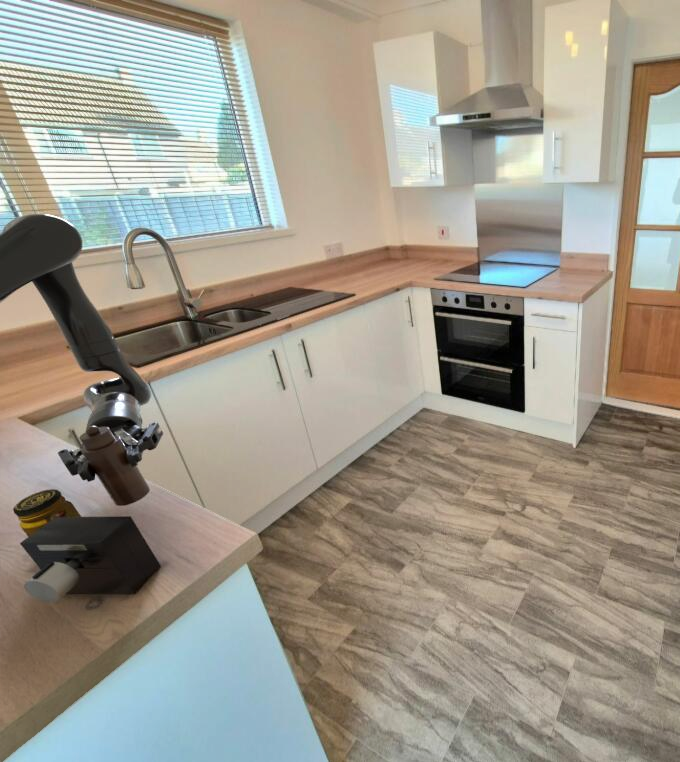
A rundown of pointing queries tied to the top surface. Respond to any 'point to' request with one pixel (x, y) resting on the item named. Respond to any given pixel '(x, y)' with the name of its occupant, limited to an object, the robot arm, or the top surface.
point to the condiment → (42, 510)
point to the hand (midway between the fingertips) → (110, 468)
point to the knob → (53, 581)
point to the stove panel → (96, 552)
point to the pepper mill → (113, 466)
